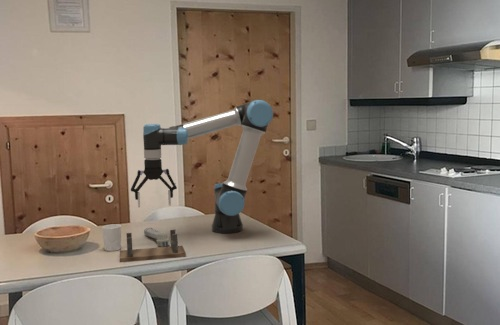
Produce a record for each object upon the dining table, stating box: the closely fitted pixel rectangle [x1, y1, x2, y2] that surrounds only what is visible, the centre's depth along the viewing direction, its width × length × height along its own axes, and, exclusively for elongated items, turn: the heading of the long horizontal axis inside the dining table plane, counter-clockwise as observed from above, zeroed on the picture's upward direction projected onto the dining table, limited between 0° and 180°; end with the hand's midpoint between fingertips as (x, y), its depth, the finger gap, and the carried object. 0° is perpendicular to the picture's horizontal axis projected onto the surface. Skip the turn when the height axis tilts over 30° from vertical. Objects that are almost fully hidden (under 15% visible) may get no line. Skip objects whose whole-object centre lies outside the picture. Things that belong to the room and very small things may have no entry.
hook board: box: [119, 229, 187, 263], centre depth 226 cm, size 26×12×9 cm, turn 103°
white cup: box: [101, 223, 122, 252], centre depth 236 cm, size 8×8×10 cm
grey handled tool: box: [143, 227, 170, 247], centre depth 249 cm, size 5×7×25 cm
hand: (154, 205), depth 247 cm, fingers open, 13 cm apart
